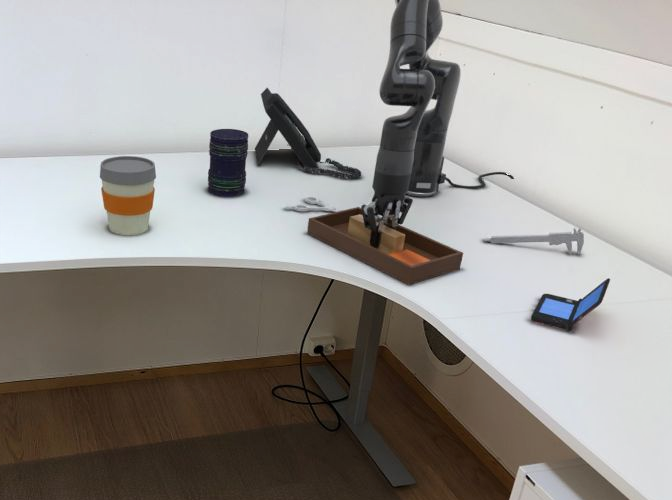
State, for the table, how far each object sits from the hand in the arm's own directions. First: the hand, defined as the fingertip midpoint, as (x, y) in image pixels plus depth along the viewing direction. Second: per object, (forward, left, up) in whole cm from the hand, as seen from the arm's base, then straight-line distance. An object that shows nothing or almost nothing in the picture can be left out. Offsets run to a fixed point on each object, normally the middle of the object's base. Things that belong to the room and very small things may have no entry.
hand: (380, 244), depth 175 cm
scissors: (-7, -24, -2) cm, 25 cm away
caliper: (-32, +16, -2) cm, 36 cm away
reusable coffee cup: (+42, -39, -2) cm, 57 cm away
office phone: (-28, -58, -2) cm, 64 cm away
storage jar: (+7, -49, -2) cm, 49 cm away
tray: (0, 0, -1) cm, 1 cm away
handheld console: (-8, +41, -2) cm, 42 cm away
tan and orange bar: (0, +2, -1) cm, 2 cm away
